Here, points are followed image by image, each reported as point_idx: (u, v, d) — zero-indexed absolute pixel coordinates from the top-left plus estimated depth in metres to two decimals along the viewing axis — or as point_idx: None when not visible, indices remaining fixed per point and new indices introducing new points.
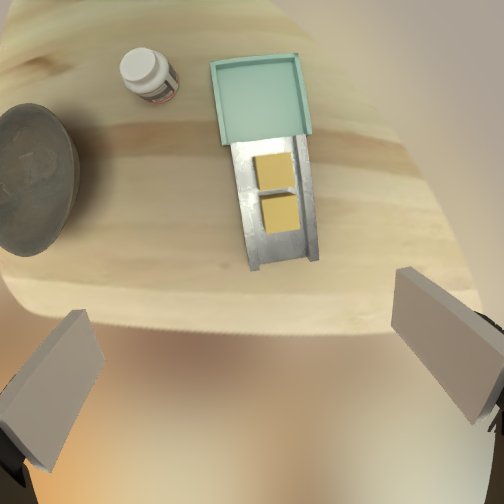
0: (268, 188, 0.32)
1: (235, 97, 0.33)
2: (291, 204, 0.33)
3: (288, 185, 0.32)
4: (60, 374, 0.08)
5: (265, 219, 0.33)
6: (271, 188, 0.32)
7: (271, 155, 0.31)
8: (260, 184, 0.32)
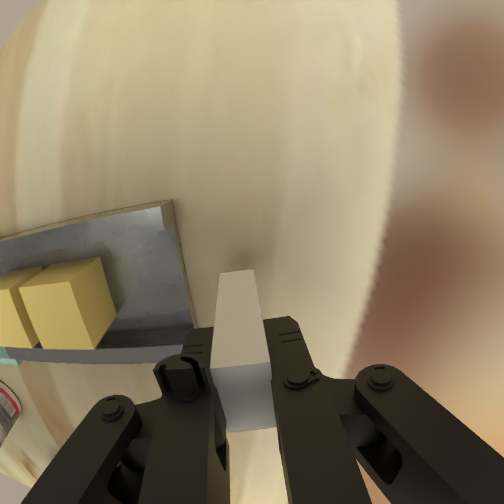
0: (24, 335, 0.13)
1: None
2: (34, 298, 0.12)
3: (10, 301, 0.12)
4: None
5: (69, 347, 0.13)
6: (23, 330, 0.13)
7: None
8: (24, 346, 0.13)
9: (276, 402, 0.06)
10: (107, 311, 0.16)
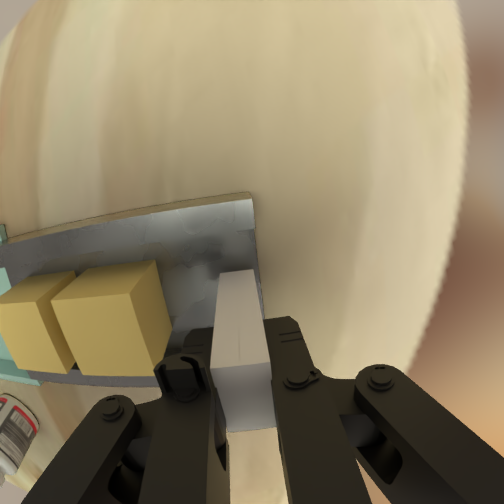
0: (57, 358, 0.11)
1: None
2: (73, 314, 0.10)
3: (38, 317, 0.10)
4: None
5: (121, 374, 0.11)
6: (55, 353, 0.11)
7: (6, 342, 0.11)
8: (56, 370, 0.11)
9: (276, 402, 0.06)
10: (164, 326, 0.14)
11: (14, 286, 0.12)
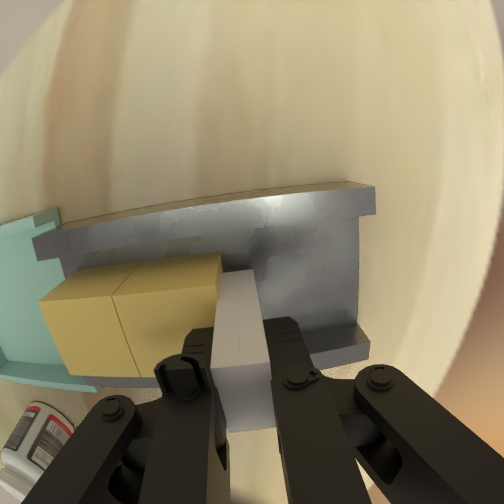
0: (129, 360, 0.11)
1: (29, 343, 0.15)
2: (140, 310, 0.10)
3: (111, 313, 0.10)
4: None
5: None
6: (128, 354, 0.11)
7: (57, 344, 0.11)
8: (124, 374, 0.11)
9: (276, 402, 0.06)
10: None
11: (65, 280, 0.12)
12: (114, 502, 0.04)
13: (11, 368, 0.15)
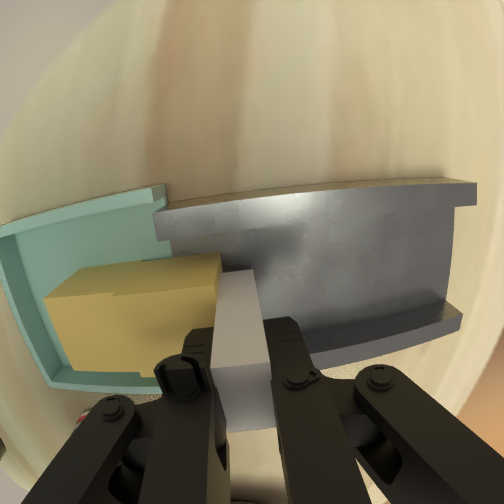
0: None
1: None
2: (140, 311, 0.10)
3: None
4: None
5: None
6: None
7: (62, 340, 0.11)
8: (128, 369, 0.12)
9: (276, 402, 0.06)
10: None
11: (69, 278, 0.13)
12: (114, 502, 0.04)
13: (71, 374, 0.15)
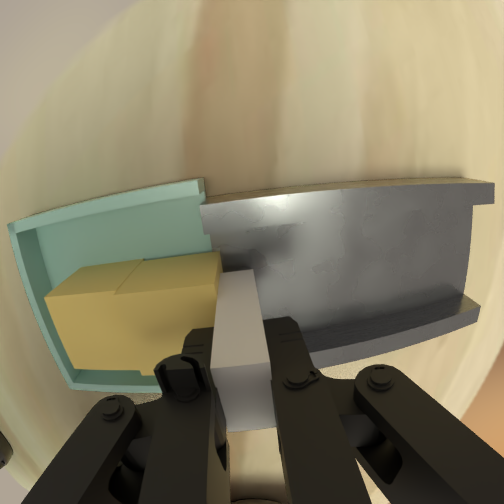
0: None
1: None
2: (141, 309, 0.10)
3: (116, 308, 0.11)
4: None
5: None
6: None
7: (62, 339, 0.11)
8: (128, 367, 0.12)
9: (276, 402, 0.06)
10: None
11: (70, 276, 0.13)
12: (114, 502, 0.04)
13: (94, 375, 0.15)
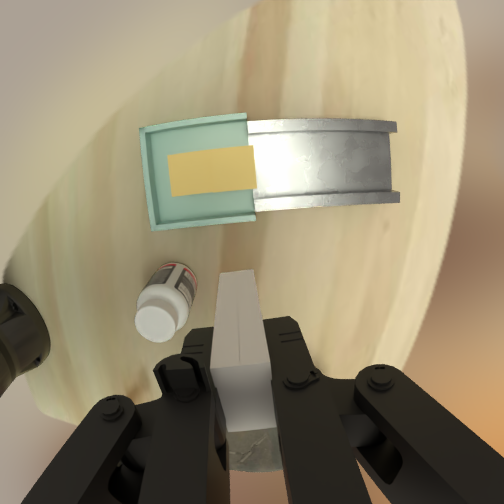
0: (210, 182, 0.26)
1: (196, 200, 0.31)
2: (221, 155, 0.25)
3: (207, 157, 0.26)
4: None
5: (238, 188, 0.26)
6: (210, 178, 0.26)
7: (171, 178, 0.26)
8: (205, 191, 0.26)
9: (276, 402, 0.06)
10: None
11: None
12: (114, 502, 0.04)
13: (170, 221, 0.30)
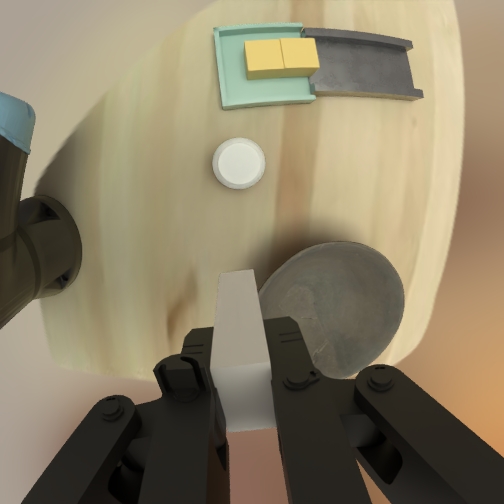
0: (281, 61, 0.27)
1: (261, 86, 0.32)
2: (290, 43, 0.26)
3: (278, 44, 0.26)
4: None
5: (304, 66, 0.27)
6: (281, 58, 0.27)
7: (248, 57, 0.27)
8: (277, 68, 0.27)
9: (276, 402, 0.06)
10: None
11: None
12: (114, 502, 0.04)
13: None
